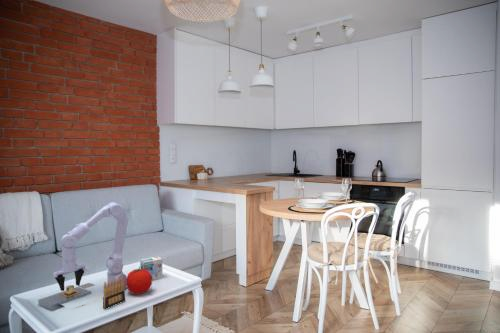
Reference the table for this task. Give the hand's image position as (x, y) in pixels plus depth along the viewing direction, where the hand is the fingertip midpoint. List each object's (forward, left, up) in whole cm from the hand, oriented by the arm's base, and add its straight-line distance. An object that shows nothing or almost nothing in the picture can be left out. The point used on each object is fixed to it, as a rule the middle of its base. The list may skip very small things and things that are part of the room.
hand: (70, 287), depth 176 cm
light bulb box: (-11, -40, -6) cm, 42 cm away
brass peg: (0, 0, -5) cm, 5 cm away
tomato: (-22, -23, -6) cm, 32 cm away
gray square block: (+6, -12, -5) cm, 14 cm away
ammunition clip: (-24, -7, -6) cm, 26 cm away
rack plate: (0, +3, -5) cm, 6 cm away
